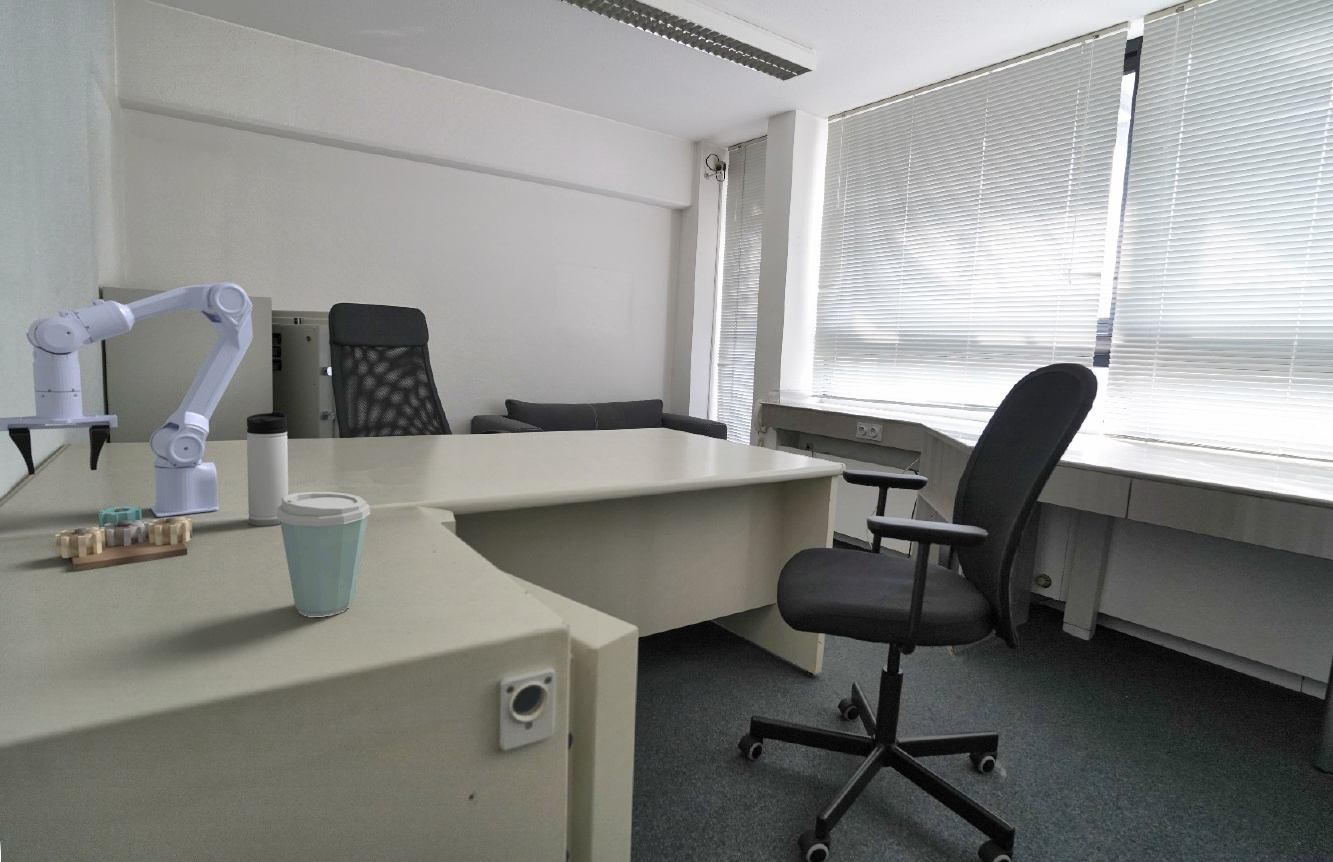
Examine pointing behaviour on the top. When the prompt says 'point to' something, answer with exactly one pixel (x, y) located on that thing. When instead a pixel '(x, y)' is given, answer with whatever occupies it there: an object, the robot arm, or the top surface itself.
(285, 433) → the travel mug
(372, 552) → the top surface
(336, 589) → the disposable coffee cup
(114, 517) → the teal gear
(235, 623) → the top surface
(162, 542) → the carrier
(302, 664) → the top surface
